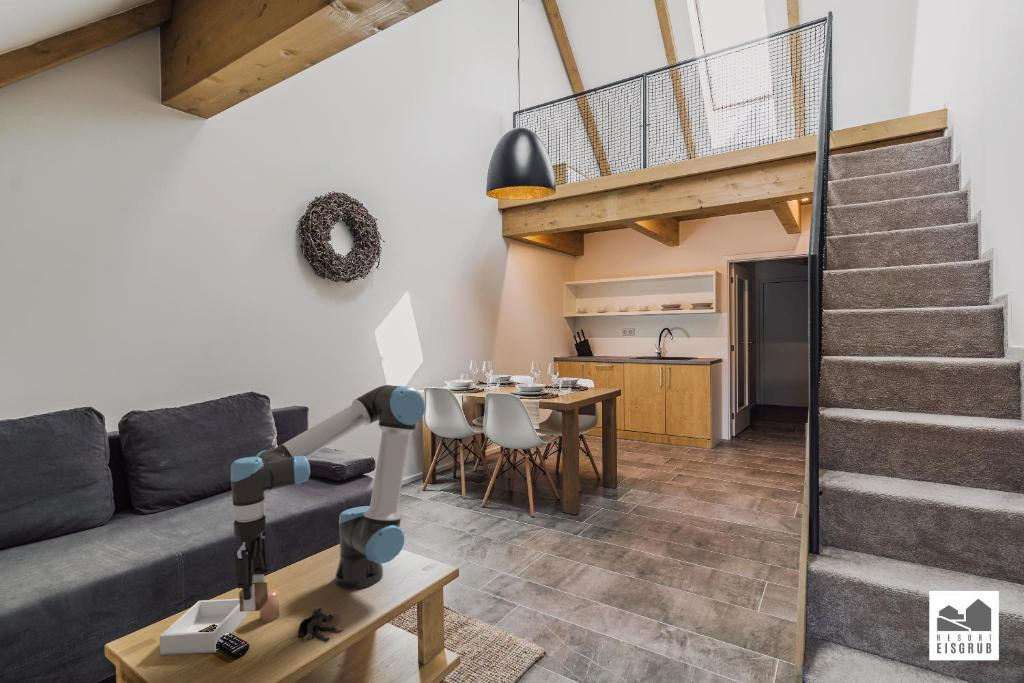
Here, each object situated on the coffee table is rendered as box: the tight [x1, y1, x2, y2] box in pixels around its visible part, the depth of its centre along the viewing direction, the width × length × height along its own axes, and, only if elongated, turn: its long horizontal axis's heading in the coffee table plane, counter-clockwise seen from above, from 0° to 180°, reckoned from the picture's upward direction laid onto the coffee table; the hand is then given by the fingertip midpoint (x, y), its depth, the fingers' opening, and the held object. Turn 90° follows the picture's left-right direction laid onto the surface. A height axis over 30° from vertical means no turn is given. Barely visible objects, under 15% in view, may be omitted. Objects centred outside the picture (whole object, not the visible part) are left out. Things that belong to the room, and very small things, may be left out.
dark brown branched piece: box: [297, 606, 344, 643], centre depth 141 cm, size 12×10×12 cm
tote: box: [159, 598, 248, 656], centre depth 140 cm, size 14×18×5 cm
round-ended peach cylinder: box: [259, 588, 280, 623], centre depth 148 cm, size 5×5×7 cm
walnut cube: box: [238, 581, 268, 612], centre depth 136 cm, size 5×5×5 cm
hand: (254, 604), depth 136 cm, fingers closed on walnut cube, 5 cm apart
